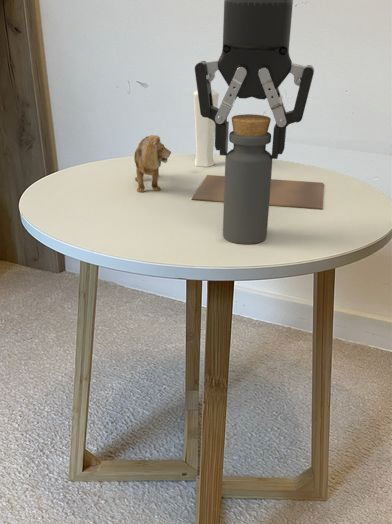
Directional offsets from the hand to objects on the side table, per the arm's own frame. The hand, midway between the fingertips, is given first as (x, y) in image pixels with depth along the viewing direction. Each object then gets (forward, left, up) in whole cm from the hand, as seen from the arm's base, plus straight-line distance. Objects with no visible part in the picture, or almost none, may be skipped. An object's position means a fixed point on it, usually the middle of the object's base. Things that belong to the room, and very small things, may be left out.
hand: (249, 155), depth 74 cm
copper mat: (0, -21, -11) cm, 23 cm away
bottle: (0, 0, -11) cm, 11 cm away
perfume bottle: (+12, -36, -11) cm, 39 cm away
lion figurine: (+18, -20, -11) cm, 29 cm away
